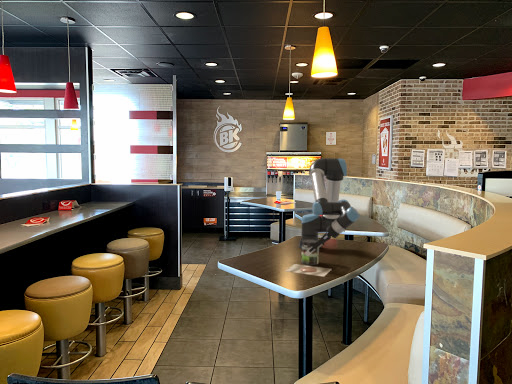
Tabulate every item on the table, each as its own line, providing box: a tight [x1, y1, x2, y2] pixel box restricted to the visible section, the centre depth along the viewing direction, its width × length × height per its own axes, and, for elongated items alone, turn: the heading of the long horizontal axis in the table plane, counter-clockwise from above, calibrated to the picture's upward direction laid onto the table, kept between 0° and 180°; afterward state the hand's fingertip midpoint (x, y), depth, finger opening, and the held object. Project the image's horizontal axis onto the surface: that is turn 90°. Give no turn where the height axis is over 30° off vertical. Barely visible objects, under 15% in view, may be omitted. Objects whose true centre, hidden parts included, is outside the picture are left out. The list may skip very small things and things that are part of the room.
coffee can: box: [300, 239, 320, 266], centre depth 230 cm, size 10×10×14 cm
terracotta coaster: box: [300, 267, 317, 272], centre depth 215 cm, size 9×9×1 cm
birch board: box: [284, 263, 332, 278], centre depth 215 cm, size 22×16×1 cm
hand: (309, 252), depth 230 cm, fingers open, 13 cm apart
